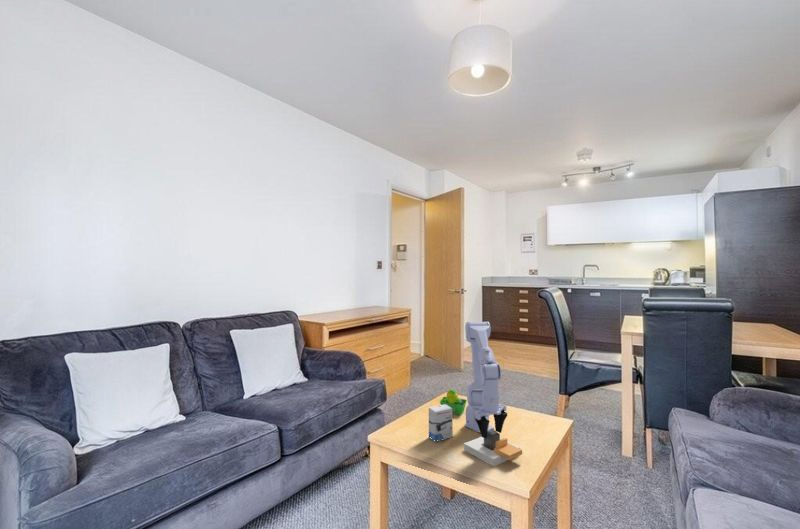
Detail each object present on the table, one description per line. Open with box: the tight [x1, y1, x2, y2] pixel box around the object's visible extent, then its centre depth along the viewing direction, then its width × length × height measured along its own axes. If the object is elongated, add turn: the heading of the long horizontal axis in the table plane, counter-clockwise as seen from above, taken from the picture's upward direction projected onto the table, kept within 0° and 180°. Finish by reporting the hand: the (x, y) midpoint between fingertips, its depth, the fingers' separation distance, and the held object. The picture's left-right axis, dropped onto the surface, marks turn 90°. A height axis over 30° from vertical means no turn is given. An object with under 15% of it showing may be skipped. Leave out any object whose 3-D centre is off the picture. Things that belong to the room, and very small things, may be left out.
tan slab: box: [494, 437, 523, 461], centre depth 128 cm, size 7×7×4 cm
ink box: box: [428, 404, 454, 442], centre depth 147 cm, size 8×5×12 cm, turn 117°
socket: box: [463, 436, 521, 467], centre depth 134 cm, size 14×14×2 cm
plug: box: [484, 429, 501, 451], centre depth 134 cm, size 4×4×8 cm
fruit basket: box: [439, 388, 468, 415], centre depth 174 cm, size 11×9×11 cm
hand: (491, 434), depth 135 cm, fingers open, 7 cm apart
